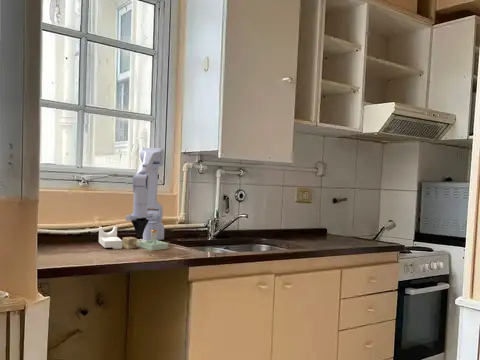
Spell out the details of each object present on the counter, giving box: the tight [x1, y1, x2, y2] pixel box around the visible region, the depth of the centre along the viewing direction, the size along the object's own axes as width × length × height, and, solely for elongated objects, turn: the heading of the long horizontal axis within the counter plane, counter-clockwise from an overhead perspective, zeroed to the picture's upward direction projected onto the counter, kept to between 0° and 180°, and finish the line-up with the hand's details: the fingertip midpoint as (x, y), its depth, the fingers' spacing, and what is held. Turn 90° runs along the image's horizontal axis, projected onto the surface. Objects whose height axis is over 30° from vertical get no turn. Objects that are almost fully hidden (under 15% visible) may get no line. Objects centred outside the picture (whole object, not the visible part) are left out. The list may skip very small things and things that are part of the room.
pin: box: [151, 230, 157, 244], centre depth 194 cm, size 2×2×7 cm
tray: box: [139, 240, 169, 251], centre depth 194 cm, size 8×9×2 cm
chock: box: [121, 236, 138, 250], centre depth 193 cm, size 4×5×4 cm
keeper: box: [136, 238, 148, 247], centre depth 199 cm, size 5×5×2 cm
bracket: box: [98, 226, 123, 250], centre depth 194 cm, size 13×7×8 cm, turn 27°
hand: (139, 236), depth 188 cm, fingers closed
